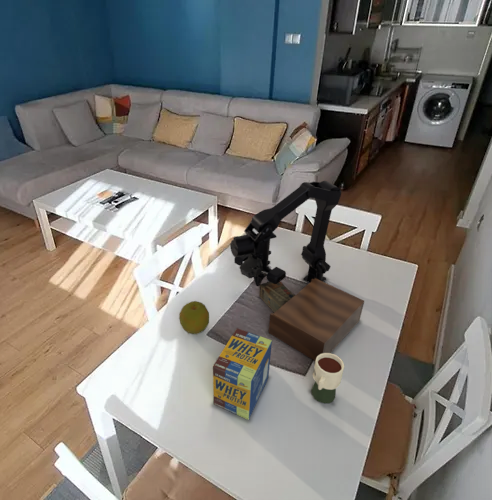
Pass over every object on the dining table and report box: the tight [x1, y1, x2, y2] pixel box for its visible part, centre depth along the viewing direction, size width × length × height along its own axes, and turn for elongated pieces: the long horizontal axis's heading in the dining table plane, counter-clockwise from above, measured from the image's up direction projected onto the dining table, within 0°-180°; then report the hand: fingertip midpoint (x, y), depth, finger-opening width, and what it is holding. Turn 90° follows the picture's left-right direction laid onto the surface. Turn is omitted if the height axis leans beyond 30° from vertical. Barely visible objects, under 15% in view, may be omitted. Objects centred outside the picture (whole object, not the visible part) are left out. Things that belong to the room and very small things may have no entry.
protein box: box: [212, 327, 273, 420], centre depth 102 cm, size 10×15×16 cm
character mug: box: [310, 352, 345, 404], centre depth 101 cm, size 11×7×13 cm, turn 144°
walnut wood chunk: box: [268, 278, 365, 362], centre depth 124 cm, size 25×19×9 cm
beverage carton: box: [258, 280, 296, 313], centre depth 133 cm, size 8×19×7 cm, turn 26°
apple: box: [178, 300, 210, 335], centre depth 125 cm, size 10×10×11 cm
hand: (257, 285), depth 138 cm, fingers closed
